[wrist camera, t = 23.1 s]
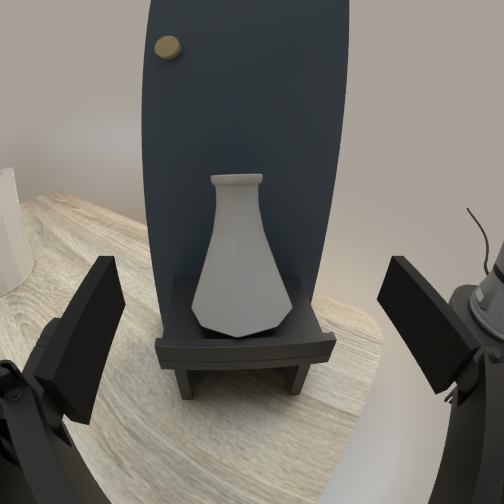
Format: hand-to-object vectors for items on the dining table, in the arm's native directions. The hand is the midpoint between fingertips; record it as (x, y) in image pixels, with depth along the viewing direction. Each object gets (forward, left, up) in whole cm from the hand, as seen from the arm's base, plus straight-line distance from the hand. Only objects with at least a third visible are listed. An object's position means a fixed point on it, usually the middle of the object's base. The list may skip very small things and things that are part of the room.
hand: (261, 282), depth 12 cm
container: (+22, -42, -16) cm, 50 cm away
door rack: (-4, -6, -16) cm, 17 cm away
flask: (-3, -5, -7) cm, 9 cm away
